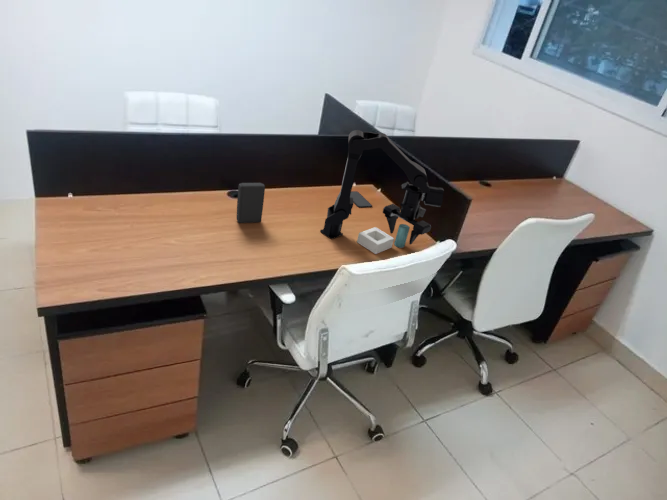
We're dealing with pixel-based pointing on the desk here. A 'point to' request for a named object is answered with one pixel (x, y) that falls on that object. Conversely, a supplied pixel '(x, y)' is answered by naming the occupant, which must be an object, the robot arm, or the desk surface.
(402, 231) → the peg
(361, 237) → the socket
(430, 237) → the desk surface
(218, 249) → the desk surface
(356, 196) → the smartphone
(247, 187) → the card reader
